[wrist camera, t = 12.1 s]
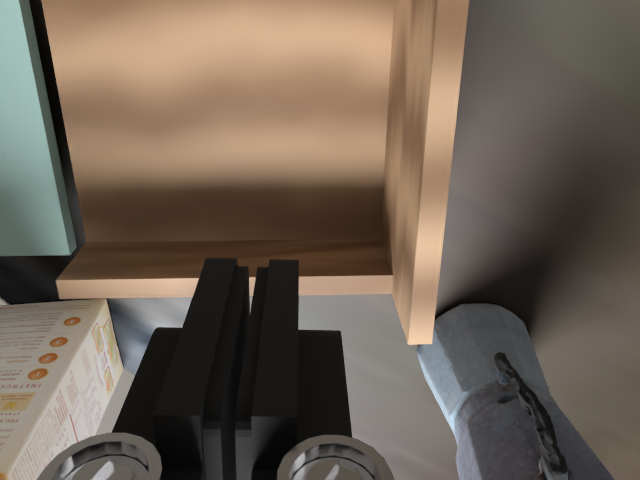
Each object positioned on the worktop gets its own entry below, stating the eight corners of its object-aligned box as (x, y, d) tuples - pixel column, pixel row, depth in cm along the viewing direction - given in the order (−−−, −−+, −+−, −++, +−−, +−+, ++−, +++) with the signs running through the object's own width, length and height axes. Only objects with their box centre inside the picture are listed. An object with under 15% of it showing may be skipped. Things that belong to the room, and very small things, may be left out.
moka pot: (433, 428, 48) (517, 695, 30) (384, 282, 42) (452, 508, 24) (541, 397, 47) (695, 652, 29) (507, 243, 41) (676, 447, 23)
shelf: (48, -122, 31) (-126, -198, 18) (410, -117, 31) (489, -186, 19) (111, 251, 40) (26, 375, 27) (387, 248, 41) (429, 367, 28)
